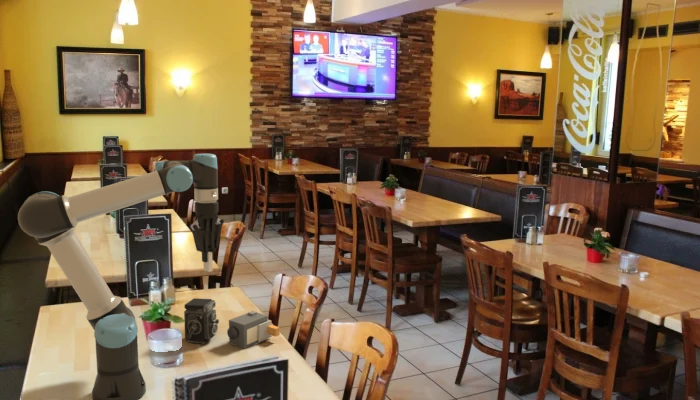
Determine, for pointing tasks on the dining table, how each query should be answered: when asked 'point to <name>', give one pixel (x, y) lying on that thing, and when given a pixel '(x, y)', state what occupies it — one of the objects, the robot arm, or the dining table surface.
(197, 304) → the camera
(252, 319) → the housing
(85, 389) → the dining table surface
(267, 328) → the side door
